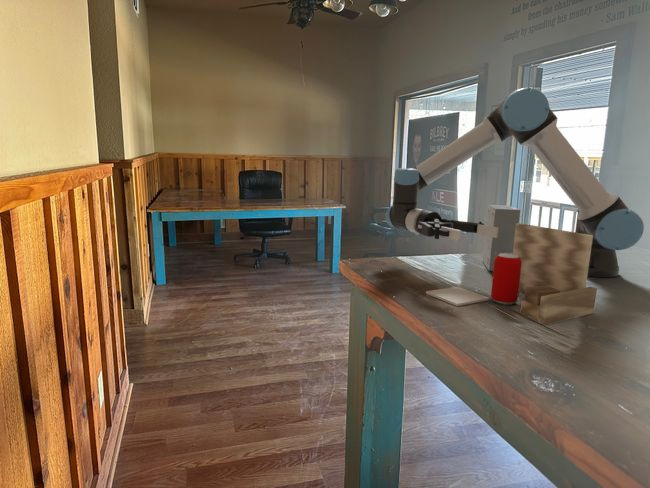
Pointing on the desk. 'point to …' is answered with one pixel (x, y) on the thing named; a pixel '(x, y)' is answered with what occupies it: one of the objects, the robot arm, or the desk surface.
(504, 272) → the beverage can
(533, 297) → the offcut upper
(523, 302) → the offcut lower
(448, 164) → the robot arm
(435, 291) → the felt pad
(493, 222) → the hard drive box
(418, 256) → the desk surface
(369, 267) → the desk surface
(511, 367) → the desk surface
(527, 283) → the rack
